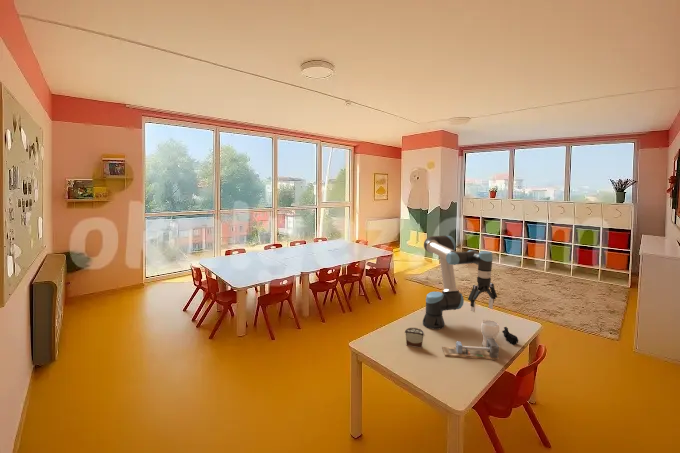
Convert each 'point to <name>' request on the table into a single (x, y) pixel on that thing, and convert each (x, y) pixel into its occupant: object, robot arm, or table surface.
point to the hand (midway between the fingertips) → (481, 309)
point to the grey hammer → (469, 348)
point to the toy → (510, 337)
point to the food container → (414, 337)
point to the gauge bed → (475, 351)
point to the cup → (489, 330)
